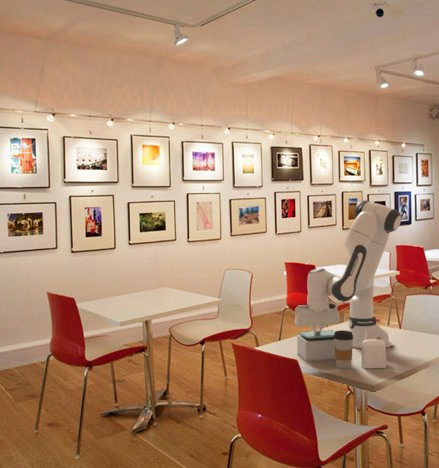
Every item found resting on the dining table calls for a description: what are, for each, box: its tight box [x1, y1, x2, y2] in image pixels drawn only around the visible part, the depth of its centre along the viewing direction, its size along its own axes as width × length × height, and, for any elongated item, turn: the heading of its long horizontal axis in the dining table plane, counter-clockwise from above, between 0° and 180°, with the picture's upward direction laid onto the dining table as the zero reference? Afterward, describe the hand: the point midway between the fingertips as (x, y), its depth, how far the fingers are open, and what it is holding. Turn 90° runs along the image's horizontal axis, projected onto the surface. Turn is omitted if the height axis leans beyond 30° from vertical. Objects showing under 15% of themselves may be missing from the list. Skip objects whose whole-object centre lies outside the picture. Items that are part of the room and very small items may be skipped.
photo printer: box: [360, 339, 387, 369], centre depth 229 cm, size 10×4×12 cm, turn 86°
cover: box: [298, 329, 336, 338], centre depth 246 cm, size 16×12×1 cm
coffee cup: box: [334, 330, 354, 370], centre depth 231 cm, size 8×8×15 cm
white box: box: [296, 334, 336, 362], centre depth 247 cm, size 18×12×9 cm
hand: (317, 334), depth 242 cm, fingers closed, pressing on cover
